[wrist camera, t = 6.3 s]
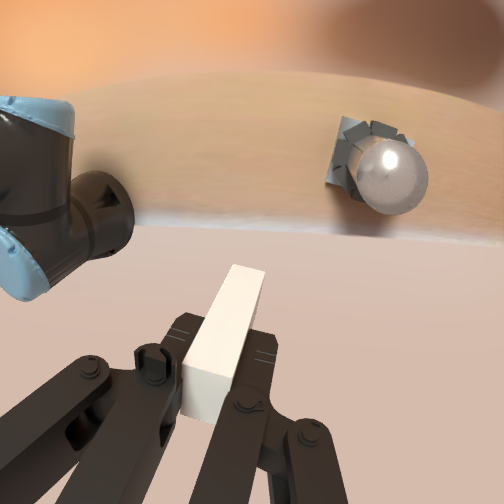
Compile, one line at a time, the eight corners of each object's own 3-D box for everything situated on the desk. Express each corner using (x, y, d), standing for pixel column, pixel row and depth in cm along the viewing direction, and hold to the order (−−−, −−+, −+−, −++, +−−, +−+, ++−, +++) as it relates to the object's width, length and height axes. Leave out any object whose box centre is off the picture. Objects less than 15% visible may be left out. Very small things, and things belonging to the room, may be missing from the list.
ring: (324, 187, 39) (324, 190, 37) (344, 112, 34) (345, 111, 33) (396, 209, 38) (399, 214, 36) (418, 138, 33) (423, 139, 32)
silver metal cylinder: (340, 181, 36) (347, 202, 27) (355, 128, 33) (368, 130, 24) (392, 198, 35) (414, 224, 26) (408, 146, 32) (436, 155, 23)
